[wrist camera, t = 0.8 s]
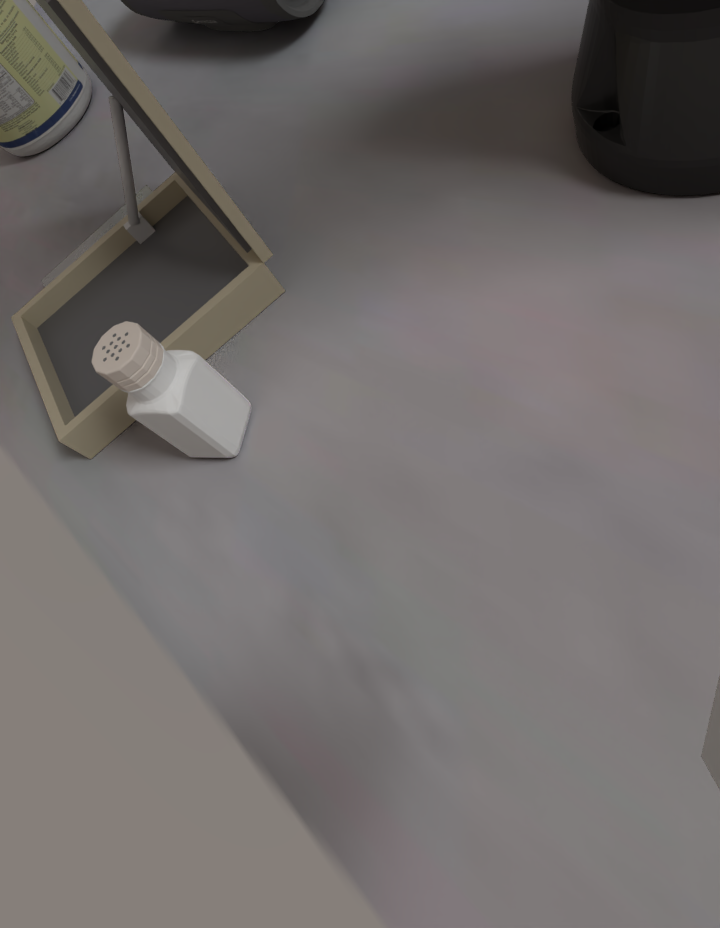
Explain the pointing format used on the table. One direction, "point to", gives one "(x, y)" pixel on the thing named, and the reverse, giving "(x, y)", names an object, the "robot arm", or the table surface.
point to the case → (140, 262)
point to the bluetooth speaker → (226, 12)
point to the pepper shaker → (173, 392)
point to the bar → (94, 237)
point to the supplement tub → (36, 82)
